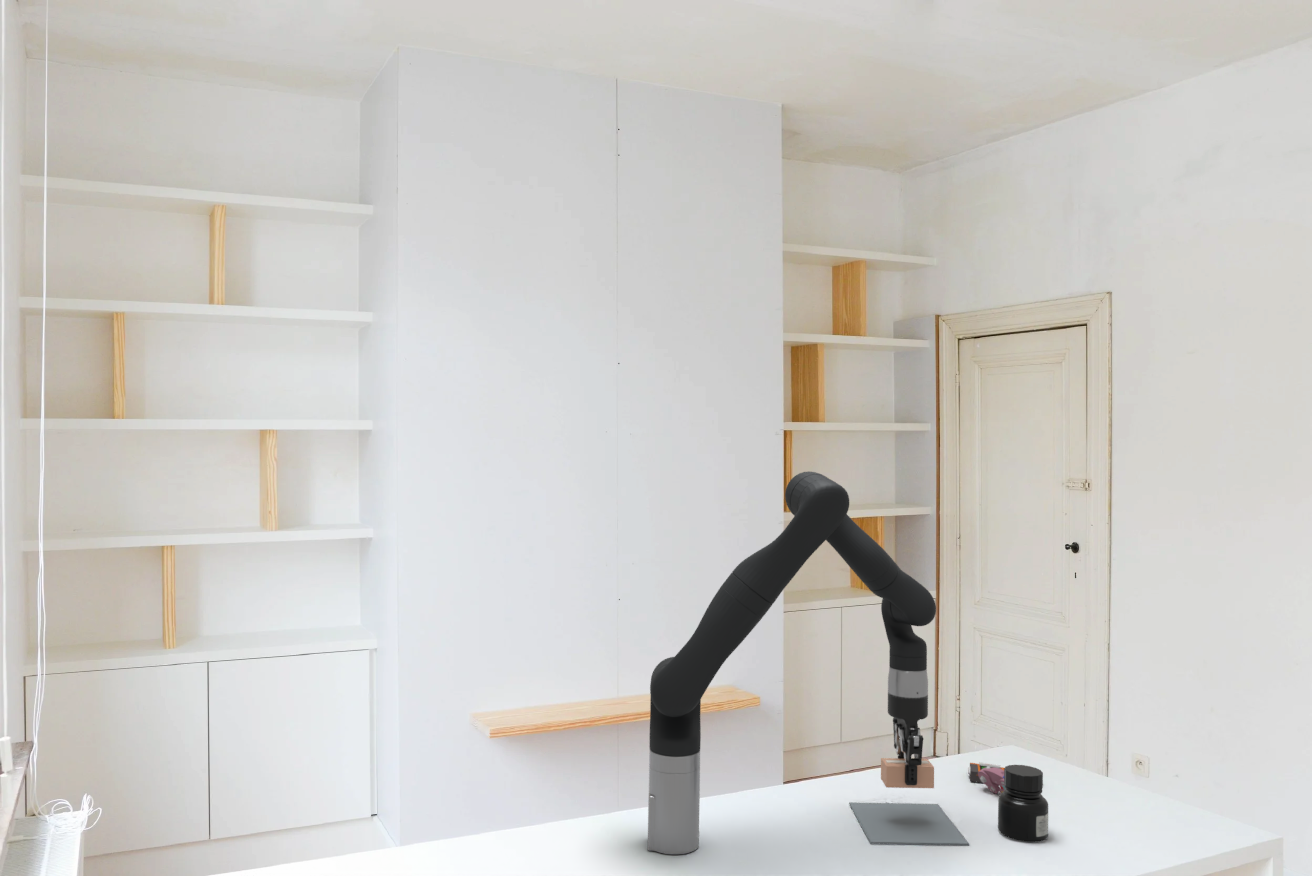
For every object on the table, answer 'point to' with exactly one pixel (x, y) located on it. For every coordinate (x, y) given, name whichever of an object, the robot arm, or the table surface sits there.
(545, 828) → the table surface
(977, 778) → the electronic device
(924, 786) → the box
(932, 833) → the mat
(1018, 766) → the ink bottle
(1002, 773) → the video game controller
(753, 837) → the table surface
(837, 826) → the table surface
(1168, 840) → the table surface
